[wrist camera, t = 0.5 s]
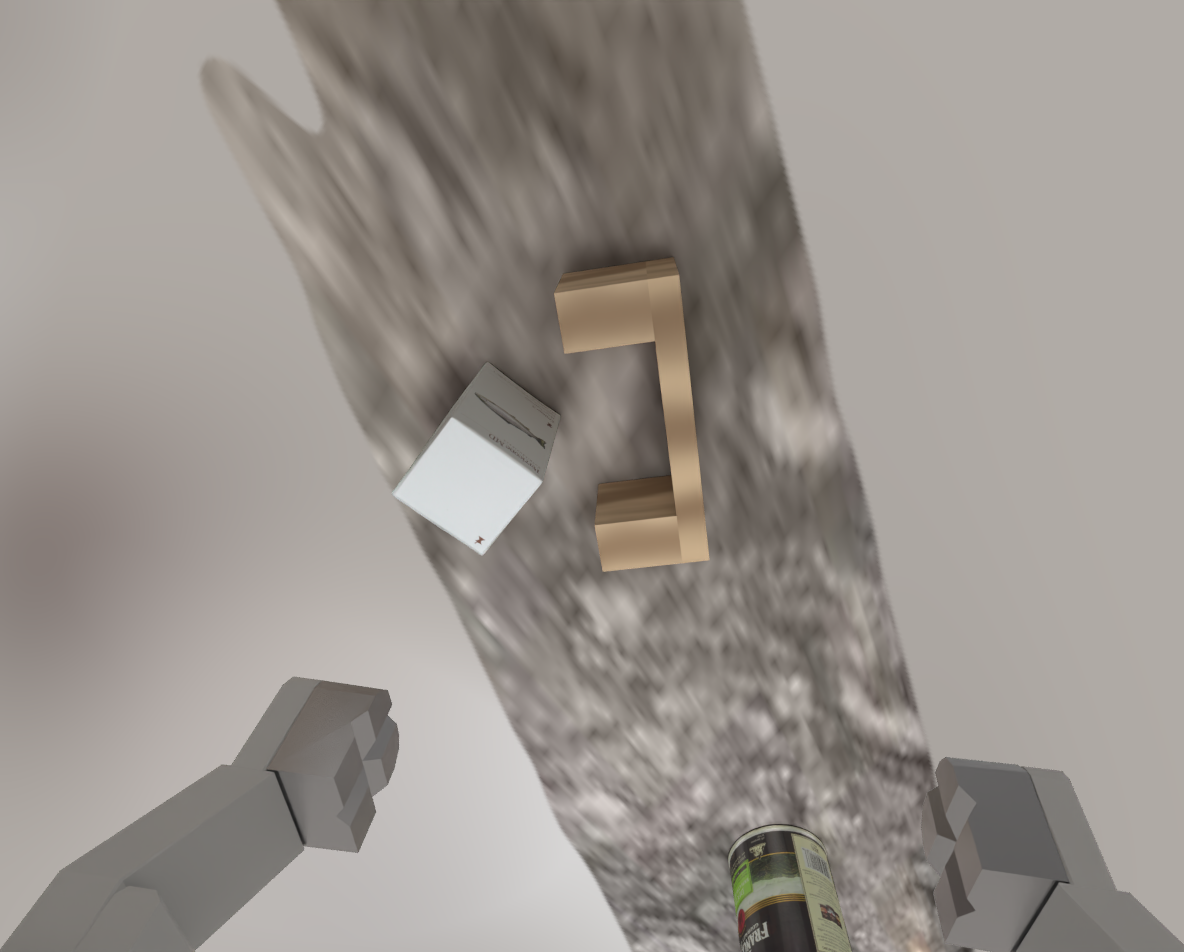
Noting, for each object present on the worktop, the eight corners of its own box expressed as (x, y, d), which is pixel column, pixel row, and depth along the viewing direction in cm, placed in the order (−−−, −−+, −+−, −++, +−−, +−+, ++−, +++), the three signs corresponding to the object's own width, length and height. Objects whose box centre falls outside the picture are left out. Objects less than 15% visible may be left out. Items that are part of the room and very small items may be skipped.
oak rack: (563, 273, 54) (553, 293, 48) (673, 257, 53) (679, 274, 47) (605, 526, 63) (602, 571, 57) (701, 515, 62) (709, 560, 56)
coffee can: (716, 881, 81) (731, 1024, 68) (744, 815, 76) (766, 954, 64) (808, 899, 81) (841, 1044, 68) (841, 834, 77) (883, 975, 64)
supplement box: (564, 414, 59) (547, 484, 48) (509, 480, 62) (481, 561, 50) (487, 356, 57) (451, 414, 46) (434, 426, 60) (387, 497, 49)
